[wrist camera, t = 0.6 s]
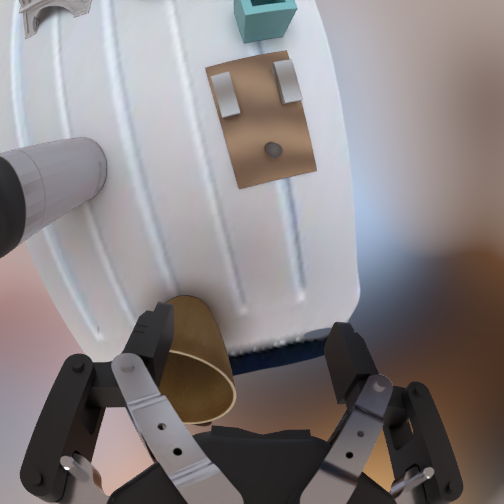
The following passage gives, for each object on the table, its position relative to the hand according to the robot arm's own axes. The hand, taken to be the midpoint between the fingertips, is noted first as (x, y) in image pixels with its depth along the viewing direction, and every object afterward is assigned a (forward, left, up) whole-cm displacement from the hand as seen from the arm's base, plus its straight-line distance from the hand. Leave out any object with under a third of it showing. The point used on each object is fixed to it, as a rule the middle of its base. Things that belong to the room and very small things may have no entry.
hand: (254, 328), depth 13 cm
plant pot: (-4, -20, -25) cm, 32 cm away
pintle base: (-1, +11, -25) cm, 27 cm away
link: (-7, +27, -25) cm, 37 cm away
